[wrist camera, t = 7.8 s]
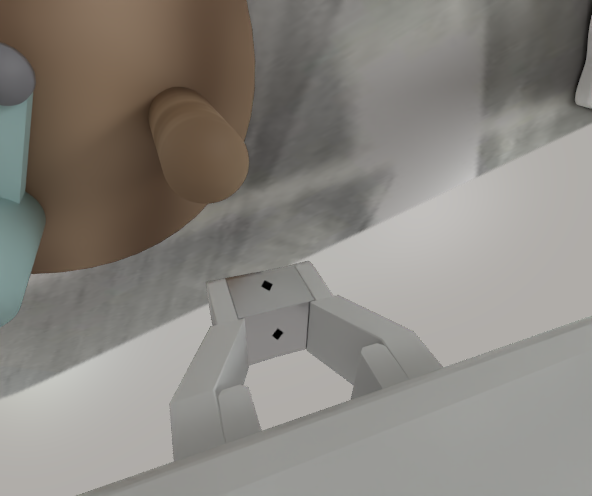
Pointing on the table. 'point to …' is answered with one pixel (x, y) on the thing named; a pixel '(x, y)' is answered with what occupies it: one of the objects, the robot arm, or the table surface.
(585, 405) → the robot arm
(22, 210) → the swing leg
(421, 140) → the table surface
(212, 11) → the stool seat
